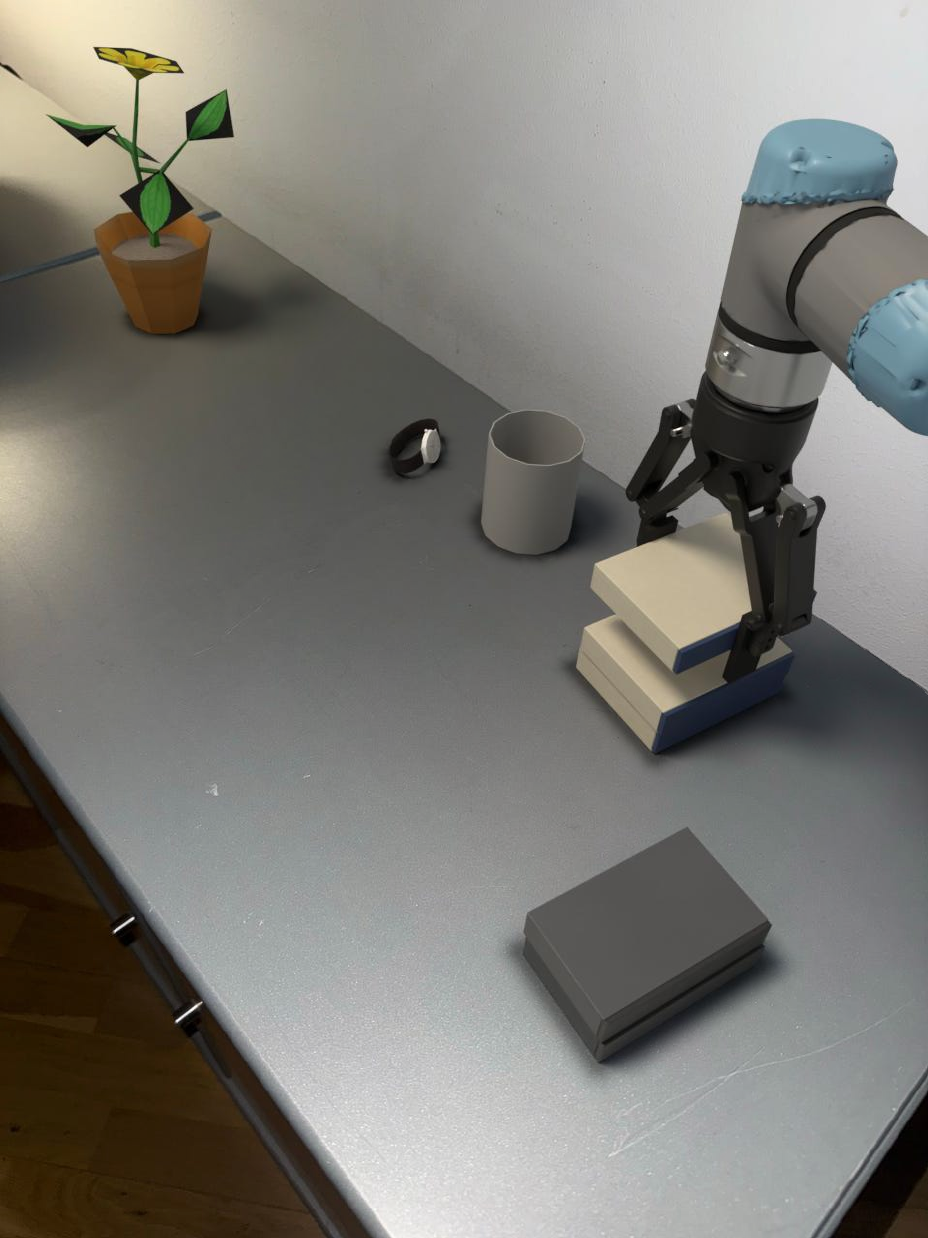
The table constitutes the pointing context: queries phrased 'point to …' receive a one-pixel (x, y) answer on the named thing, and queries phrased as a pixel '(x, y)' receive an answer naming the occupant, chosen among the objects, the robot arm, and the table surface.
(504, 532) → the cup
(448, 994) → the table surface
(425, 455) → the watch
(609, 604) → the cream book
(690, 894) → the grey stack
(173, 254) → the potted plant
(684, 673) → the cream stack
